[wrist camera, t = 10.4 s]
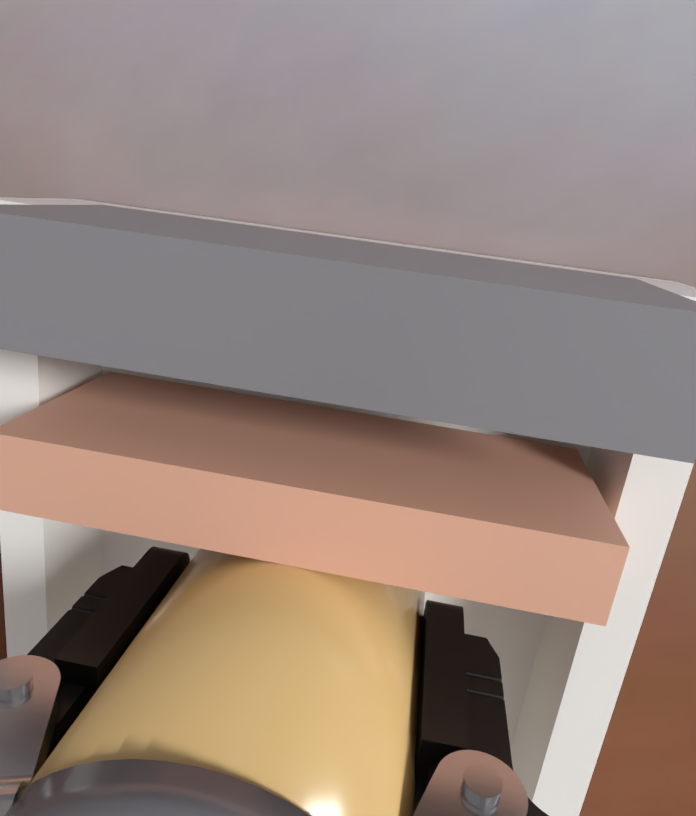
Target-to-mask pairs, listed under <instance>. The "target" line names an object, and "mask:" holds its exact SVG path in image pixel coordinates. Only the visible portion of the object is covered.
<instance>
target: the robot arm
mask: <svg viewBox="0 0 696 816" xmlns="http://www.w3.org/2000/svg"><path fill="white" fill-rule="evenodd" d="M189 563H190V558H189V554H188V553H186V552H181V551H175V550H170V549H165V548H160V547H155V546H153V547H151V548H150V549H149V550H148V551H147V552H146V553H145V554H144V555H143V557H142V558H141V559H140V560H139V561H138V562H137V563H136V565H135V566H134V567H129V566H124V565H121V566H119V567H117V568H116V569H114V570H112V571H110V572H108V573H106V574H104V575H102V576H101V577H99V578H98V579H97V580H96V581H95V582H94V583H93V584H92V586H91V587H90V588H89V589H88V590H87V591H86V592H85V593H84V596H81V597H80V598H79V599H78V601H77V602H76V603H75V604H74V605H73V606H72V609H71V610H68V611H67V612H66V613H65V614H64V615H63V617H62V618H61V619H60V620H59V621H58V622H57V623H56V624H55V625H54V626H53V627H52V628H51V629H50V630H49V632H48V633H47V634H46V635H45V636H44V637H43V638H42V639H41V640H40V641H39V642H38V643H37V644H36V645H35V646H34V648H33V649H32V650H31V651H30V652H29V653H28V654H27V655H21V656H14V657H9V658H5V659H2V660H0V816H4V815H5V814H6V813H7V811H8V810H9V809H10V807H11V806H12V804H13V802H14V800H15V798H16V796H17V794H18V792H19V791H21V790H22V789H24V788H25V787H26V786H28V785H29V784H30V782H31V781H32V779H33V778H34V776H35V775H36V774H37V772H38V771H39V770H40V768H41V767H42V765H43V764H44V763H45V761H46V760H47V759H48V757H49V756H50V754H51V753H52V752H53V750H54V749H55V747H56V746H57V745H58V743H59V742H60V741H61V739H62V738H63V736H64V735H65V734H66V732H67V731H68V730H69V728H70V727H71V725H72V724H73V723H74V721H75V720H76V719H77V717H78V716H79V714H80V713H81V712H82V710H83V709H84V708H85V706H86V705H87V703H88V702H89V701H90V699H91V698H92V696H93V695H94V694H95V692H96V691H97V690H98V688H99V687H100V685H101V684H102V683H103V681H104V680H105V679H106V677H107V676H108V674H109V673H110V672H111V670H112V669H113V668H114V666H115V665H116V663H117V662H118V661H119V659H120V658H121V657H122V655H123V654H124V652H125V651H126V650H127V648H128V647H129V645H130V644H131V643H132V641H133V640H134V639H135V637H136V636H137V634H138V633H139V632H140V630H141V629H142V628H143V626H144V625H145V623H146V622H147V621H148V619H149V618H150V617H151V615H152V614H153V612H154V611H155V610H156V608H157V607H158V606H159V604H160V603H161V601H162V600H163V599H164V597H165V596H166V595H167V593H168V592H169V590H170V589H171V588H172V586H173V585H174V583H175V582H176V581H177V579H178V578H179V577H180V575H181V574H182V572H183V571H184V570H185V568H186V567H187V566H188V564H189ZM413 816H549V815H547V814H546V813H545V812H543V811H542V810H541V809H539V808H538V807H537V806H536V805H535V804H534V803H533V802H532V801H531V800H530V799H529V798H528V797H527V793H526V790H525V787H524V785H523V783H522V782H521V780H520V778H519V777H518V776H517V775H516V773H515V772H514V771H513V766H512V758H511V750H510V742H509V733H508V725H507V717H506V709H505V700H504V692H503V684H502V675H501V667H500V659H499V657H498V655H497V653H496V652H495V650H494V649H493V647H492V646H491V644H490V643H489V641H488V639H487V638H485V637H480V636H474V635H469V634H465V632H464V611H463V607H462V606H457V605H451V604H446V603H441V602H436V601H431V600H427V601H426V604H425V609H424V614H423V626H422V645H421V664H420V682H419V701H418V720H417V739H416V757H415V800H414V814H413Z"/></svg>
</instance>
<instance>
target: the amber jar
mask: <svg viewBox="0 0 696 816" xmlns="http://www.w3.org/2000/svg"><path fill="white" fill-rule="evenodd" d="M424 605H425V592H424V591H419V590H414V589H408V588H403V587H398V586H393V585H388V584H382V583H377V582H372V581H367V580H362V579H356V578H351V577H346V576H341V575H336V574H330V573H325V572H320V571H315V570H310V569H304V568H299V567H294V566H289V565H284V564H278V563H273V562H268V561H263V560H258V559H252V558H247V557H242V556H237V555H232V554H226V553H221V552H216V551H211V550H206V549H199V550H198V552H197V553H196V555H195V556H194V557H193V559H192V560H191V561H190V563H189V564H188V566H187V567H186V568H185V570H184V571H183V572H182V574H181V575H180V577H179V578H178V579H177V581H176V582H175V583H174V585H173V586H172V588H171V589H170V590H169V592H168V593H167V595H166V596H165V597H164V599H163V600H162V601H161V603H160V604H159V606H158V607H157V608H156V610H155V611H154V612H153V614H152V615H151V617H150V618H149V619H148V621H147V622H146V623H145V625H144V626H143V628H142V629H141V630H140V632H139V633H138V634H137V636H136V637H135V639H134V640H133V641H132V643H131V644H130V645H129V647H128V648H127V650H126V651H125V652H124V654H123V655H122V657H121V658H120V659H119V661H118V662H117V663H116V665H115V666H114V668H113V669H112V670H111V672H110V673H109V674H108V676H107V677H106V679H105V680H104V681H103V683H102V684H101V685H100V687H99V688H98V690H97V691H96V692H95V694H94V695H93V696H92V698H91V699H90V701H89V702H88V703H87V705H86V706H85V708H84V709H83V710H82V712H81V713H80V714H79V716H78V717H77V719H76V720H75V721H74V723H73V724H72V725H71V727H70V728H69V730H68V731H67V732H66V734H65V735H64V736H63V738H62V739H61V741H60V742H59V743H58V745H57V746H56V747H55V749H54V750H53V752H52V753H51V754H50V756H49V757H48V759H47V760H46V761H45V763H44V764H43V765H42V767H41V768H40V770H39V771H38V772H37V774H36V775H35V776H34V778H33V779H32V781H31V782H30V784H29V785H28V786H26V787H25V788H24V789H22V790H21V791H19V792H18V794H17V796H16V798H15V800H14V802H13V804H12V806H11V807H10V809H9V810H8V811H7V813H6V814H5V815H4V816H413V814H414V800H415V757H416V739H417V720H418V701H419V682H420V664H421V645H422V626H423V614H424Z"/></svg>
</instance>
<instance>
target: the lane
mask: <svg viewBox="0 0 696 816" xmlns="http://www.w3.org/2000/svg"><path fill="white" fill-rule="evenodd" d="M108 372H116V373H122V374H128V375H134V376H140V377H146V378H152V379H158V380H164V381H170V382H176V383H182V384H188V385H194V386H200V387H206V388H212V389H218V390H224V391H231V392H237V393H243V394H249V395H255V396H261V397H267V398H273V399H279V400H285V401H291V402H297V403H303V404H309V405H315V406H321V407H327V408H333V409H339V410H345V411H351V412H357V413H363V414H369V415H375V416H381V417H387V418H393V419H399V420H405V421H411V422H417V423H424V424H430V425H436V426H442V427H448V428H454V429H460V430H466V431H472V432H478V433H484V434H490V435H496V436H502V437H508V438H514V439H520V440H526V441H532V442H538V443H544V444H550V445H556V446H562V447H568V448H574V449H577V451H578V453H579V454H580V456H581V458H582V460H583V462H584V464H585V465H586V467H587V469H588V471H589V473H590V475H591V477H592V478H593V480H594V482H595V484H596V486H597V488H598V489H599V491H600V493H601V495H602V497H603V499H604V501H605V502H606V504H607V506H608V508H609V510H610V512H611V513H612V515H613V517H614V519H615V521H616V523H617V525H618V526H619V528H620V530H621V532H622V534H623V536H624V537H625V539H626V541H627V543H628V545H629V547H630V549H629V552H628V555H627V558H626V562H625V565H624V568H623V572H622V575H621V578H620V581H619V585H618V588H617V591H616V595H615V598H614V601H613V604H612V608H611V611H610V614H609V617H608V621H607V624H606V626H601V625H596V624H590V623H585V622H580V621H575V620H570V619H564V618H559V617H554V616H549V615H544V614H538V613H533V612H528V611H523V610H518V609H512V608H507V607H502V606H497V605H492V604H486V603H481V602H476V601H471V600H466V599H460V598H455V597H450V596H445V595H440V594H434V593H429V592H425V604H426V601H427V600H431V601H436V602H441V603H446V604H451V605H457V606H462V607H463V611H464V632H465V634H469V635H474V636H480V637H485V638H487V639H488V641H489V643H490V644H491V646H492V647H493V649H494V650H495V652H496V653H497V655H498V657H499V659H500V667H501V675H502V684H503V692H504V700H505V709H506V717H507V725H508V733H509V742H510V750H511V758H512V766H513V771H514V772H515V773H516V775H517V776H518V777H519V778H520V780H521V782H522V783H523V785H524V787H525V790H526V793H527V797H528V798H529V799H530V800H531V801H532V802H533V803H534V804H535V805H536V806H537V807H538V808H539V809H541V810H542V811H543V812H545V813H546V814H547V815H549V816H579V814H580V810H581V807H582V804H583V801H584V798H585V795H586V792H587V789H588V786H589V783H590V780H591V777H592V774H593V771H594V768H595V765H596V761H597V758H598V755H599V752H600V749H601V746H602V743H603V740H604V737H605V734H606V731H607V728H608V725H609V722H610V719H611V716H612V712H613V709H614V706H615V703H616V700H617V697H618V694H619V691H620V688H621V685H622V682H623V679H624V676H625V673H626V670H627V667H628V663H629V660H630V657H631V654H632V651H633V648H634V645H635V642H636V639H637V636H638V633H639V630H640V627H641V624H642V621H643V617H644V614H645V611H646V608H647V605H648V602H649V599H650V596H651V593H652V590H653V587H654V584H655V581H656V578H657V575H658V572H659V568H660V565H661V562H662V559H663V556H664V553H665V550H666V547H667V544H668V541H669V538H670V535H671V532H672V529H673V526H674V523H675V519H676V516H677V513H678V510H679V507H680V504H681V501H682V498H683V495H684V492H685V489H686V486H687V483H688V480H689V477H690V474H691V470H692V467H693V464H694V461H695V458H696V288H694V287H691V286H688V285H685V284H682V283H679V282H676V281H668V280H661V279H654V278H647V277H639V276H632V275H625V274H618V273H610V272H603V271H596V270H589V269H581V268H574V267H567V266H560V265H552V264H545V263H538V262H531V261H523V260H516V259H509V258H502V257H494V256H487V255H480V254H473V253H465V252H458V251H451V250H444V249H436V248H429V247H422V246H415V245H407V244H400V243H393V242H386V241H378V240H371V239H364V238H357V237H349V236H342V235H335V234H328V233H320V232H313V231H306V230H299V229H292V228H284V227H277V226H270V225H263V224H255V223H248V222H241V221H234V220H226V219H219V218H212V217H205V216H197V215H190V214H183V213H176V212H168V211H161V210H154V209H147V208H139V207H132V206H125V205H118V204H110V203H103V202H96V201H89V200H81V199H47V198H0V426H1V425H3V424H5V423H7V422H9V421H11V420H13V419H15V418H17V417H19V416H21V415H23V414H25V413H27V412H29V411H31V410H33V409H35V408H37V407H39V406H41V405H43V404H45V403H47V402H49V401H51V400H53V399H55V398H58V397H60V396H62V395H64V394H66V393H68V392H70V391H72V390H74V389H76V388H78V387H80V386H82V385H84V384H86V383H88V382H90V381H92V380H94V379H96V378H98V377H100V376H102V375H104V374H106V373H108ZM0 545H1V562H2V578H3V595H4V612H5V628H6V645H7V658H9V657H14V656H21V655H27V654H28V653H29V652H30V651H31V650H32V649H33V648H34V646H35V645H36V644H37V643H38V642H39V641H40V640H41V639H42V638H43V637H44V636H45V635H46V634H47V633H48V632H49V630H50V629H51V628H52V627H53V626H54V625H55V624H56V623H57V622H58V621H59V620H60V619H61V618H62V617H63V615H64V614H65V613H66V612H67V611H68V610H71V609H72V606H73V605H74V604H75V603H76V602H77V601H78V599H79V598H80V597H81V596H84V593H85V592H86V591H87V590H88V589H89V588H90V587H91V586H92V584H93V583H94V582H95V581H96V580H97V579H98V578H99V577H101V576H102V575H104V574H106V573H108V572H110V571H112V570H114V569H116V568H117V567H119V566H121V565H124V566H129V567H134V566H135V565H136V563H137V562H138V561H139V560H140V559H141V558H142V557H143V555H144V554H145V553H146V552H147V551H148V550H149V549H150V548H151V547H153V546H155V547H160V548H165V549H170V550H175V551H181V552H186V553H188V554H189V558H190V561H191V560H192V559H193V557H194V556H195V555H196V553H197V552H198V550H199V549H200V548H195V547H190V546H185V545H180V544H174V543H169V542H164V541H159V540H153V539H148V538H143V537H138V536H133V535H127V534H122V533H117V532H112V531H107V530H101V529H96V528H91V527H86V526H81V525H75V524H70V523H65V522H60V521H55V520H49V519H44V518H39V517H34V516H29V515H23V514H18V513H13V512H8V511H3V510H0ZM424 609H425V605H424Z"/></svg>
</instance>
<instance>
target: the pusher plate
mask: <svg viewBox="0 0 696 816" xmlns="http://www.w3.org/2000/svg"><path fill="white" fill-rule="evenodd" d="M0 510H3V511H8V512H13V513H18V514H23V515H29V516H34V517H39V518H44V519H49V520H55V521H60V522H65V523H70V524H75V525H81V526H86V527H91V528H96V529H101V530H107V531H112V532H117V533H122V534H127V535H133V536H138V537H143V538H148V539H153V540H159V541H164V542H169V543H174V544H180V545H185V546H190V547H195V548H200V549H206V550H211V551H216V552H221V553H226V554H232V555H237V556H242V557H247V558H252V559H258V560H263V561H268V562H273V563H278V564H284V565H289V566H294V567H299V568H304V569H310V570H315V571H320V572H325V573H330V574H336V575H341V576H346V577H351V578H356V579H362V580H367V581H372V582H377V583H382V584H388V585H393V586H398V587H403V588H408V589H414V590H419V591H424V592H429V593H434V594H440V595H445V596H450V597H455V598H460V599H466V600H471V601H476V602H481V603H486V604H492V605H497V606H502V607H507V608H512V609H518V610H523V611H528V612H533V613H538V614H544V615H549V616H554V617H559V618H564V619H570V620H575V621H580V622H585V623H590V624H596V625H601V626H606V624H607V621H608V617H609V614H610V611H611V608H612V604H613V601H614V598H615V595H616V591H617V588H618V585H619V581H620V578H621V575H622V572H623V568H624V565H625V562H626V558H627V555H628V552H629V549H630V547H629V545H628V543H627V541H626V539H625V537H624V536H623V534H622V532H621V530H620V528H619V526H618V525H617V523H616V521H615V519H614V517H613V515H612V513H611V512H610V510H609V508H608V506H607V504H606V502H605V501H604V499H603V497H602V495H601V493H600V491H599V489H598V488H597V486H596V484H595V482H594V480H593V478H592V477H591V475H590V473H589V471H588V469H587V467H586V465H585V464H584V462H583V460H582V458H581V456H580V454H579V453H578V451H577V449H574V448H568V447H562V446H556V445H550V444H544V443H538V442H532V441H526V440H520V439H514V438H508V437H502V436H496V435H490V434H484V433H478V432H472V431H466V430H460V429H454V428H448V427H442V426H436V425H430V424H424V423H417V422H411V421H405V420H399V419H393V418H387V417H381V416H375V415H369V414H363V413H357V412H351V411H345V410H339V409H333V408H327V407H321V406H315V405H309V404H303V403H297V402H291V401H285V400H279V399H273V398H267V397H261V396H255V395H249V394H243V393H237V392H231V391H224V390H218V389H212V388H206V387H200V386H194V385H188V384H182V383H176V382H170V381H164V380H158V379H152V378H146V377H140V376H134V375H128V374H122V373H116V372H108V373H106V374H104V375H102V376H100V377H98V378H96V379H94V380H92V381H90V382H88V383H86V384H84V385H82V386H80V387H78V388H76V389H74V390H72V391H70V392H68V393H66V394H64V395H62V396H60V397H58V398H55V399H53V400H51V401H49V402H47V403H45V404H43V405H41V406H39V407H37V408H35V409H33V410H31V411H29V412H27V413H25V414H23V415H21V416H19V417H17V418H15V419H13V420H11V421H9V422H7V423H5V424H3V425H1V426H0Z"/></svg>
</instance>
